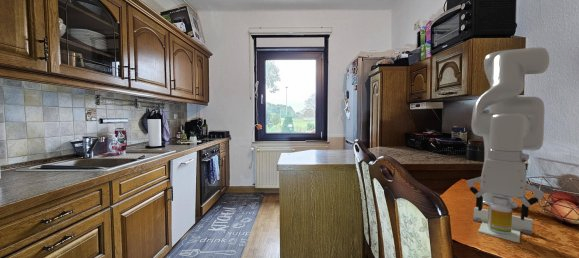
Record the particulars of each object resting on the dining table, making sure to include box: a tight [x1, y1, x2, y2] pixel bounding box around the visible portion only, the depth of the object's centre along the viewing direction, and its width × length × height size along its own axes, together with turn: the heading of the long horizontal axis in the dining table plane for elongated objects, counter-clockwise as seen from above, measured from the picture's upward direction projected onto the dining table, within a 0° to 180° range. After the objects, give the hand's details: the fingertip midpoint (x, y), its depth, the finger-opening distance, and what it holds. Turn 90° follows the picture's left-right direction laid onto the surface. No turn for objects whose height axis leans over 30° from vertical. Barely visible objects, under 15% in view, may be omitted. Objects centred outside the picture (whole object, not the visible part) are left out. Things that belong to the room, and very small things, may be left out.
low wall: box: [472, 206, 534, 235], centre depth 80 cm, size 3×14×4 cm, turn 47°
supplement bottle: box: [487, 196, 513, 234], centre depth 75 cm, size 5×5×10 cm
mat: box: [477, 222, 521, 244], centre depth 75 cm, size 9×9×1 cm
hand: (500, 214), depth 75 cm, fingers open, 9 cm apart
